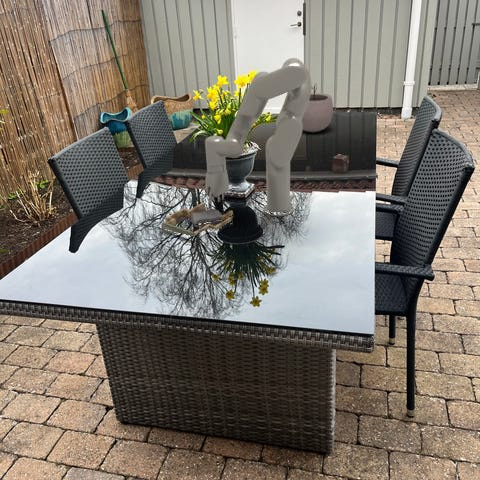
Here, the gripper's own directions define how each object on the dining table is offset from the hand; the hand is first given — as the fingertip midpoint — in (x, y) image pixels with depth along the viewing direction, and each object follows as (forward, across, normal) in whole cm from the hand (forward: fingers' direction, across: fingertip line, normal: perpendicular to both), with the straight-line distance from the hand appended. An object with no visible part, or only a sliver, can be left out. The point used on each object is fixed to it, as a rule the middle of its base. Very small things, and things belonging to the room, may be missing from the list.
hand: (219, 209), depth 200 cm
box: (+1, -69, +20) cm, 72 cm away
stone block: (+2, +9, 0) cm, 9 cm away
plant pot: (+1, -122, -26) cm, 125 cm away
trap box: (+2, +13, 0) cm, 13 cm away
